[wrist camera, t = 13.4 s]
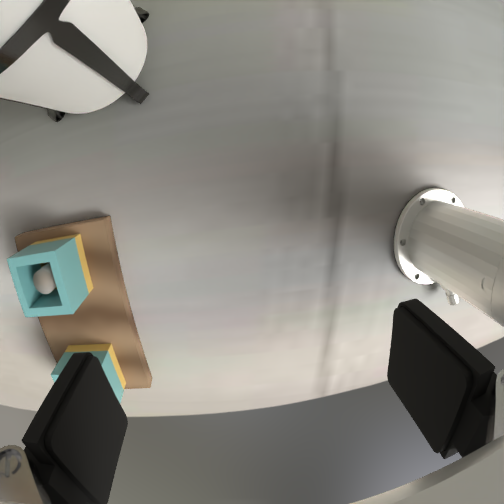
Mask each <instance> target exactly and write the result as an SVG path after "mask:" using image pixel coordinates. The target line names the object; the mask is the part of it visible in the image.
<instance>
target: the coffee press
mask: <svg viewBox="0 0 504 504" xmlns="http://www.w3.org/2000/svg"><path fill="white" fill-rule="evenodd" d="M148 16H149V13H148V12H147V11H145V10H143V9H142V8H140V7H137V8H134V7H133V5H132V3H131V1H130V0H0V99H4V100H9V101H14V102H19V103H24V104H28V105H33V106H37V107H41V108H46V109H48V116H49V117H51V118H52V119H53V120H54V121H55V122H59V121H60V120H61V119H62V118H63V117H64V115H65V112H67V113H73V114H83V113H89V112H93V111H96V110H99V109H102V108H104V107H106V106H108V105H109V104H111V103H113V102H114V101H116V100H117V99H118V98H119V97H121V96H122V95H123V94H124V93H127V94H128V95H129V96H130V97H132V98H133V99H134V100H136V101H137V102H138V103H140V104H141V103H142V102H143V101H144V100H145V99H146V97H147V96H148V95H149V93H147V92H146V91H145V90H144V89H143V88H141V87H140V86H139V85H138V84H137V83H136V82H135V80H136V79H137V77H138V75H139V74H140V72H141V70H142V67H143V65H144V62H145V59H146V54H147V37H146V33H145V30H144V27H143V25H142V23H143V22H144V21H145V20H146V19H147V18H148ZM55 110H56V111H55Z"/></svg>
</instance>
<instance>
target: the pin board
mask: <svg viewBox="0 0 504 504" xmlns="http://www.w3.org/2000/svg"><path fill="white" fill-rule="evenodd" d="M75 234H81V239H82V244H83V248H84V253H85V257H86V261H87V265H88V269H89V273H90V277H91V281H92V284H93V289H92V291H91V292H90V293H89V294H88V296H87V297H86V298H85V299H84V301H83V302H82V303H81V305H80V306H79V307H78V309H77V310H76V311H75V313H74V314H67V315H53V316H38V318H39V321H40V324H41V326H42V329H43V331H44V334H45V336H46V339H47V341H48V344H49V346H50V348H51V351H52V353H53V355H54V358H55V360H56V362H57V363H58V362H59V360H60V358H61V357H62V355H63V354H64V352H65V350H66V349H67V347H68V346H69V345H91V344H110V343H111V344H112V347H113V349H114V352H115V355H116V358H117V360H118V363H119V366H120V368H121V371H122V374H123V376H124V379H125V381H126V385H125V388H124V389H133V388H150V387H151V382H152V376H151V373H150V370H149V367H148V364H147V361H146V358H145V355H144V351H143V348H142V345H141V342H140V339H139V335H138V332H137V328H136V325H135V322H134V318H133V314H132V311H131V307H130V303H129V300H128V296H127V292H126V288H125V284H124V280H123V276H122V271H121V267H120V262H119V258H118V253H117V249H116V244H115V239H114V234H113V229H112V223H111V218H110V216H106V217H100V218H95V219H89V220H84V221H78V222H73V223H68V224H63V225H58V226H53V227H48V228H43V229H38V230H33V231H29V232H24V233H21V234H19V235H17V236H16V237H15V242H16V246H17V250H18V252H19V251H21V250H22V249H24V248H26V247H27V246H29V245H31V244H33V243H34V242H37V241H42V240H47V239H53V238H58V237H64V236H69V235H75ZM33 283H34V286H35V287H36V289H37V290H38V291H39V292H40V293H42V294H49V293H51V292H52V291H53V290H54V289H55V288H56V287H57V286H56V283H55V280H54V276H53V272H52V269H51V265H50V262H47V264H46V265H44V266H43V267H42V268H40V269H39V270H38V271H37V272H36V273H35V274H34V276H33Z"/></svg>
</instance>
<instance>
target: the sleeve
mask: <svg viewBox="0 0 504 504" xmlns="http://www.w3.org/2000/svg"><path fill="white" fill-rule="evenodd" d="M81 352H90V353H92V354H93V356H96V357H97V358H98V359H99V361H100V363H101V366H102V368H103V370H104V372H105V374H106V377H107V379H108V381H109V383H110V385H111V387H112V389H113V391H114V393H115V395H116V397H117V399H118V401H119V403H120V402H121V399H122V395H123V392H124V388H125V385H126V381H125V379H124V376H123V374H122V371H121V368H120V366H119V363H118V360H117V358H116V355H115V352H114V349H113V347H112V344H111V343H110V344H91V345H69V346H68V347H67V349H66V350H65V352H64V354H63V355H62V357H61V358H60V360H59V362H58V363H57V365H56V367H55V368H54V370H53V372H52V373H51V376H52V378H53V380H54V382H55V381H56V380H57V378H58V376H59V375H60V373H61V372H62V370H63V368H64V367H65V365H66V364H67V362H68V361H69V359H70V358H71V356H72V355H73V354H74V353H81Z"/></svg>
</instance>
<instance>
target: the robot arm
mask: <svg viewBox="0 0 504 504" xmlns="http://www.w3.org/2000/svg"><path fill="white" fill-rule="evenodd" d="M394 253H395V258H396V261H397V264H398V266H399V268H400V270H401V272H402V273H403V274H404V275H405V276H406V277H408V278H409V279H410V280H412V281H414V282H416V283H418V284H424V285H425V284H432V283H435V282H437V283H439V284H440V285H441V287H442V288H443V289H444V290H445V291H446V296H447V299H448V303H449V304H450V305H456V304H457V303H459V301H460V297H461V298H462V299H464V300H465V301H467V302H468V303H469V304H471V305H472V306H474V307H475V308H477V309H478V310H480V311H481V312H483V313H484V314H486V315H487V316H488V317H490V318H491V319H493V320H494V321H496V322H497V323H499V324H500V325H501V326H503V327H504V220H502V219H499V218H496V217H493V216H490V215H487V214H484V213H481V212H477V211H474V210H471V209H467V208H464V207H463V204H462V203H461V201H460V200H459V198H458V197H457V196H456V195H455V194H453V193H452V192H450V191H448V190H445V189H440V188H430V189H426V190H424V191H421V192H420V193H418V194H417V195H415V196H414V197H413V198H412V199H411V200H410V201H409V202H408V204H407V205H406V206H405V208H404V209H403V211H402V213H401V215H400V217H399V219H398V223H397V226H396V229H395V235H394ZM494 369H495V366H494V365H493V364H492V363H491V362H490V361H489V360H487V359H486V358H485V357H484V356H483V355H482V354H481V353H480V352H479V351H478V350H476V349H475V348H474V347H473V346H472V345H471V344H470V343H469V342H467V341H466V340H465V339H464V338H463V337H462V336H461V335H459V334H458V333H457V332H456V331H455V330H454V329H452V328H451V327H450V326H449V325H448V324H447V323H445V322H444V321H443V320H442V319H441V318H440V317H438V316H437V315H436V314H435V313H434V312H432V311H431V310H430V309H429V308H428V307H426V306H425V305H424V304H423V303H422V302H420V301H419V300H418V299H412V300H408V301H405V302H401V303H399V305H398V308H396V309H395V310H394V315H393V328H392V339H391V348H390V357H389V365H388V373H387V377H388V381H389V383H390V385H391V387H392V388H393V390H394V391H395V392H396V394H397V396H398V397H399V398H400V400H401V402H402V403H403V404H404V406H405V408H406V409H407V410H408V412H409V413H410V415H411V417H412V418H413V420H414V421H415V423H416V424H417V426H418V427H419V429H420V430H421V432H422V434H423V435H424V437H425V438H426V440H427V441H428V443H429V444H430V446H431V448H432V449H433V451H434V452H436V453H439V452H440V454H441V456H442V457H443V458H444V459H446V458H448V457H450V456H452V455H454V454H455V453H458V452H459V453H460V455H461V456H462V458H461V459H459V460H457V461H456V462H453V463H452V464H450V465H447V466H445V467H443V468H442V469H439V470H437V471H435V472H433V473H430V474H428V475H426V476H424V477H422V478H419V479H417V480H415V481H412V482H410V483H408V484H405V485H403V486H400V487H398V488H395V489H393V490H390V491H387V492H384V493H381V494H379V495H376V496H373V497H370V498H367V499H364V500H360V501H357V502H354V503H350V504H504V369H503V370H502V371H500V372H499V374H498V375H496V374H495V373H494ZM127 422H128V421H127V417H126V414H125V412H124V411H123V409H122V407H121V405H120V403H119V401H118V399H117V397H116V395H115V393H114V391H113V389H112V387H111V385H110V383H109V381H108V379H107V377H106V374H105V372H104V370H103V368H102V366H101V363H100V361H99V359H98V358H97V357H96V356H93V354H92V353H90V352H81V353H74V354H73V355H72V356H71V358H70V359H69V361H68V362H67V364H66V365H65V367H64V368H63V370H62V372H61V373H60V375H59V376H58V378H57V380H56V381H55V383H54V385H53V386H52V388H51V390H50V391H49V393H48V395H47V396H46V398H45V400H44V401H43V403H42V405H41V406H40V408H39V410H38V412H37V413H36V415H35V417H34V419H33V420H32V422H31V424H30V426H29V428H28V430H27V431H26V433H25V435H24V437H23V439H22V442H23V443H24V444H25V446H26V447H25V449H24V450H23V449H22V448H21V447H19V446H16V445H8V446H4V447H3V448H0V504H107V502H108V499H109V495H110V491H111V487H112V482H113V478H114V474H115V470H116V466H117V462H118V458H119V454H120V451H121V447H122V443H123V440H124V436H125V432H126V429H127V424H128V423H127Z"/></svg>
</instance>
